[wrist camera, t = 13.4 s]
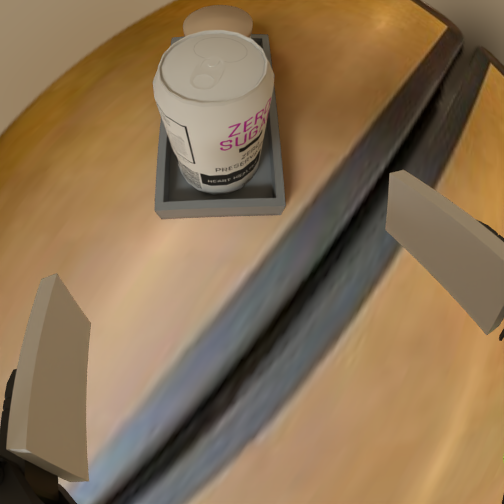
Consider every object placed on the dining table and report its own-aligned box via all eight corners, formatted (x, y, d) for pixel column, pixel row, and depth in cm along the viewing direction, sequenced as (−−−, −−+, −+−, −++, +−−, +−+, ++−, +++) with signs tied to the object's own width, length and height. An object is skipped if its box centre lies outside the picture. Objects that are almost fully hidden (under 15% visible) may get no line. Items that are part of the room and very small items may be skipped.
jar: (190, 101, 33) (180, 45, 24) (192, 61, 34) (185, 7, 25) (249, 99, 33) (254, 43, 24) (246, 59, 35) (251, 4, 25)
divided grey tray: (161, 219, 31) (154, 210, 28) (174, 52, 35) (171, 37, 32) (280, 214, 32) (285, 206, 29) (265, 49, 36) (268, 34, 33)
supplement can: (195, 120, 33) (179, 19, 18) (267, 138, 33) (289, 39, 18) (168, 184, 31) (126, 98, 16) (245, 206, 31) (258, 126, 17)
